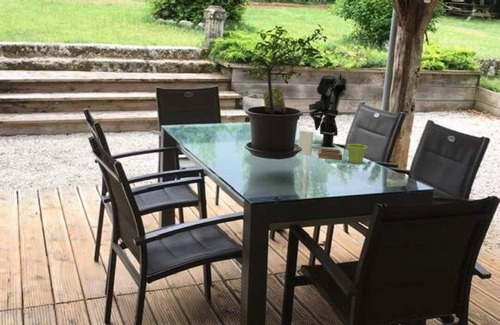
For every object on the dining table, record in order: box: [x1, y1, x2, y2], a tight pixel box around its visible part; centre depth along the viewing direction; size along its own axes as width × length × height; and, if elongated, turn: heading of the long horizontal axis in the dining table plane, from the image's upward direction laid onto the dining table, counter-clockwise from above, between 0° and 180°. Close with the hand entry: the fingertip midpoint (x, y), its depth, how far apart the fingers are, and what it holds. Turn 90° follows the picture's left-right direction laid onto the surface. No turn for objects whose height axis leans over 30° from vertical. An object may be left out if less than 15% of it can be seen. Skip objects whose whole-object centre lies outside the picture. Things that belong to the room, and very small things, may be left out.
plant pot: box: [346, 143, 368, 165], centre depth 263 cm, size 9×9×9 cm
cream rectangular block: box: [298, 129, 314, 155], centre depth 275 cm, size 3×6×12 cm, turn 60°
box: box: [317, 147, 343, 161], centre depth 272 cm, size 12×11×3 cm
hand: (321, 129), depth 281 cm, fingers open, 9 cm apart
